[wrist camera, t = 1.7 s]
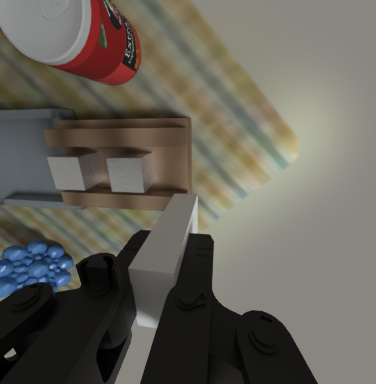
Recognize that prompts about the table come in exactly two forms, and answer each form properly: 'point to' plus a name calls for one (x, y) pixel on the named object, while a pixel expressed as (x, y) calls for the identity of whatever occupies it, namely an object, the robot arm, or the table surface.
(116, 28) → the canned food
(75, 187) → the grey stone cube
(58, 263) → the grapes
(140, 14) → the table surface
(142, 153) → the grey cube
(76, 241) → the table surface
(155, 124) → the slot block
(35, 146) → the tray
